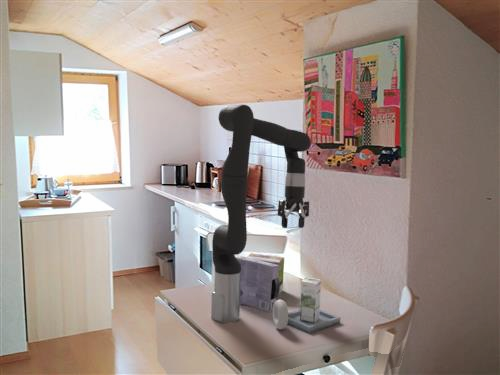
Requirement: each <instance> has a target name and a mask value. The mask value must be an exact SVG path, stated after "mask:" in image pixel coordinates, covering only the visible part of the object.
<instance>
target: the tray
mask: <svg viewBox="0 0 500 375" xmlns="http://www.w3.org/2000/svg"><path fill="white" fill-rule="evenodd" d="M339 324H341V316H340V317H339V316H337V315H336V314H335V315H334V314H332V313H329V312H326V311H324V310H322V309H320V315H319V319H318V320H317V321H316V322H315V323H311V322H306V321H302V320H300V309H297V310H294V311H292V312H288V323H287V325H289V326H291V327H294V328H295V329H297V330H301V331H303V332H304V333H306V334H307V333H308V334H312V333H315V332H318V331H320V330H323V329H327V328H329V327H332V326H336V325H339Z"/></svg>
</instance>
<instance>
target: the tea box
mask: <svg viewBox="0 0 500 375" xmlns="http://www.w3.org/2000/svg"><path fill="white" fill-rule="evenodd" d="M246 257H247V258H251V259H255V260H260V261H264V262H267V263H272V264H276V265H279V277H278V278H279V283H280V290H279V294H278V296H279V295H280V294H281V293H282V291H283V290H284V289H283V287H284V274H285V273H284V272H285V271H284V268H285V257H283V256H276V255H266V254H261V253H260V254H259V253H252V252H251V253H250V254H249V255H247V256H246Z"/></svg>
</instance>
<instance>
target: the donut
mask: <svg viewBox="0 0 500 375" xmlns="http://www.w3.org/2000/svg"><path fill="white" fill-rule="evenodd" d="M288 313H289V309H288V306H287V303H286V301H284V300H283V299H277V301H276V302H275V303H274V306H273V311H272V319H273V324H274V326H275V328H277V330H280V331H281V330H284V329H286V327H287V326H288V324H287V323H288Z"/></svg>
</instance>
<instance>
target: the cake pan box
mask: <svg viewBox="0 0 500 375" xmlns="http://www.w3.org/2000/svg"><path fill="white" fill-rule="evenodd" d="M235 257H236V259H237V260H238V261H239V262H240V264H241V284H240V305H244V306H247V307H250V308H254V309H258V310H262V311H265V312H269V313H271V312H273V306H274V303H275V302H276V301H277V300H278V296H279V295H280V294H279V290H280V283H279V278H278V277H279V265H276V264H272V263H267V262H264V261H260V260H255V259H251V258H247V256H240V255H239V256H235ZM278 294H279V295H278Z"/></svg>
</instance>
